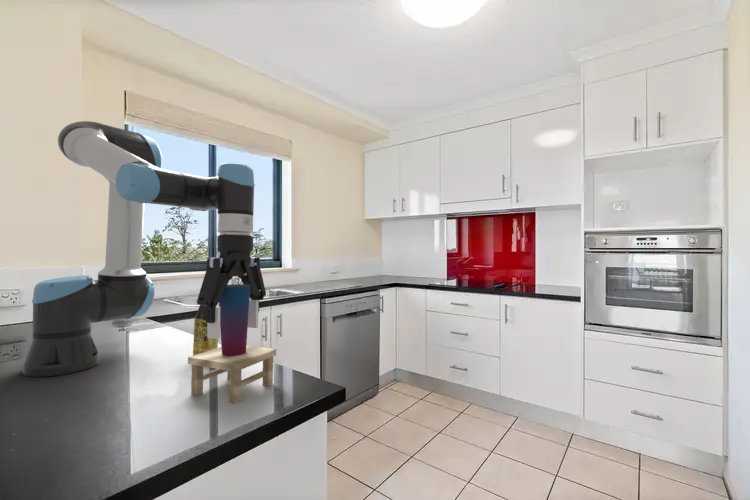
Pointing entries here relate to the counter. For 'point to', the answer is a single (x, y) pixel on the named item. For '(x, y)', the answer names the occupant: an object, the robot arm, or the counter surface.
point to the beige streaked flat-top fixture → (231, 368)
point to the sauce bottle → (202, 334)
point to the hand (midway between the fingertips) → (234, 332)
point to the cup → (234, 319)
